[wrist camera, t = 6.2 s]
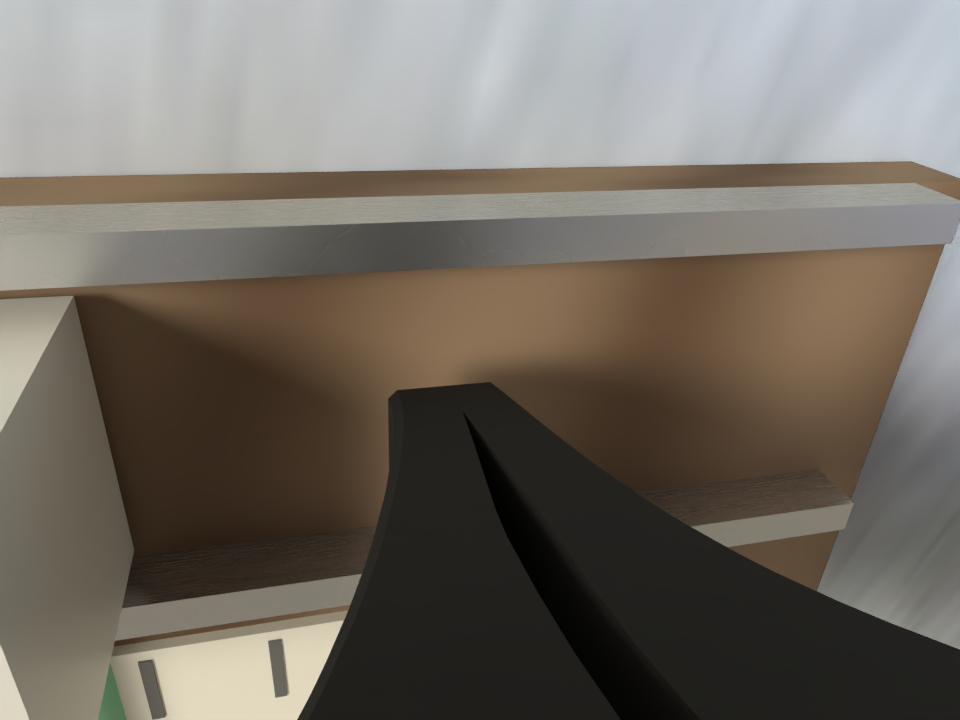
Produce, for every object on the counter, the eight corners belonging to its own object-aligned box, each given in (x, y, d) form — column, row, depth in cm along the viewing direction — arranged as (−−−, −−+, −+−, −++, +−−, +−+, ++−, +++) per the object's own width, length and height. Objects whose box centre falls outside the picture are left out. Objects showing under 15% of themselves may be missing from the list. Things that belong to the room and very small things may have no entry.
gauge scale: (448, 594, 13) (451, 605, 13) (445, 691, 14) (448, 702, 14) (-227, 699, 11) (-236, 713, 11) (-160, 803, 12) (-168, 818, 12)
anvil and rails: (914, 183, 11) (1189, 288, 8) (810, 494, 14) (979, 668, 11) (-1133, 235, 6) (-2717, 577, 3) (-649, 695, 9) (-1170, 1129, 6)
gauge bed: (911, 161, 13) (967, 181, 12) (760, 620, 18) (790, 662, 17) (-941, 194, 7) (-1133, 235, 6) (-373, 826, 13) (-430, 903, 12)
